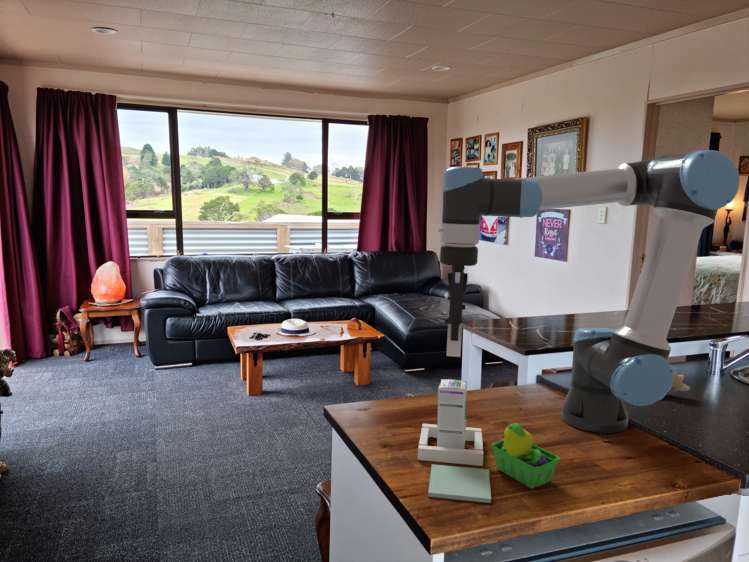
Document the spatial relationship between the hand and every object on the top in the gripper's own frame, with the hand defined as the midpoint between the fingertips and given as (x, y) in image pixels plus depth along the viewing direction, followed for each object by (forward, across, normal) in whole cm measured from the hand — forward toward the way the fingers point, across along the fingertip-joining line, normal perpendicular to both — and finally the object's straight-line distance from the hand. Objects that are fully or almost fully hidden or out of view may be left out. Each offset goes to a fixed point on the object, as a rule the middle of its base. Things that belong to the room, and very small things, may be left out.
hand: (453, 347), depth 116 cm
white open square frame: (+22, 0, 0) cm, 22 cm away
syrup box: (+22, 0, 0) cm, 22 cm away
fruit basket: (+22, +9, +14) cm, 28 cm away
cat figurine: (+22, -46, +57) cm, 77 cm away
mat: (+22, +15, +2) cm, 27 cm away
